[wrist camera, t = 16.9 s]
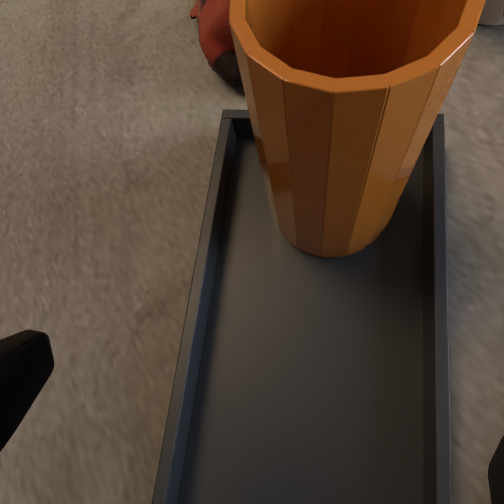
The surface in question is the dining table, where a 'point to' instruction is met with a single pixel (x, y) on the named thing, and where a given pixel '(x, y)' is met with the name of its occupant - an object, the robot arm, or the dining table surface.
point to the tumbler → (344, 105)
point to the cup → (492, 13)
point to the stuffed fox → (217, 37)
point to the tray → (311, 352)
